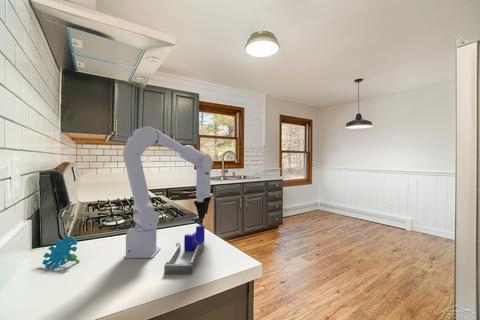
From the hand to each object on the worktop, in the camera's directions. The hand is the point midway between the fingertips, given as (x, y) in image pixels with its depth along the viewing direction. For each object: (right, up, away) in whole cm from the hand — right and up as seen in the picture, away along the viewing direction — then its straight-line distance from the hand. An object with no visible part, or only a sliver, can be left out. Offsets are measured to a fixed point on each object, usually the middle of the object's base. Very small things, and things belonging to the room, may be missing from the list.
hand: (203, 216), depth 93 cm
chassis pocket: (-3, -10, -20) cm, 23 cm away
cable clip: (-3, -10, -7) cm, 12 cm away
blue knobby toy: (-41, -10, -23) cm, 48 cm away
